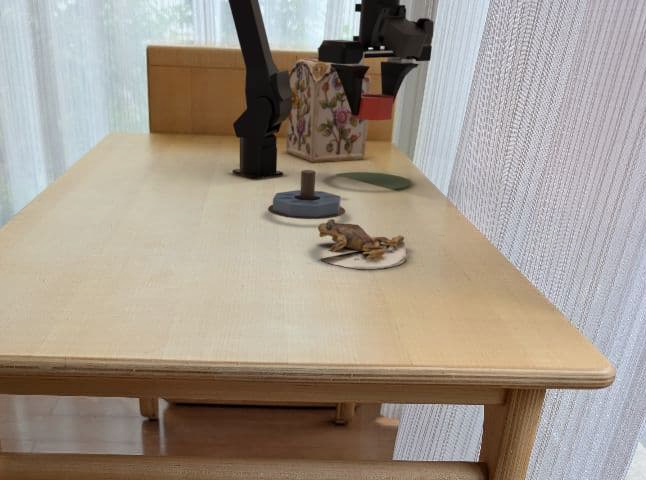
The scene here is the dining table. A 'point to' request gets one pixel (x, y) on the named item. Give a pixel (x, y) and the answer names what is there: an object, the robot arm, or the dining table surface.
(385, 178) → the mat
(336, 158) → the decorative jar
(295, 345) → the dining table surface
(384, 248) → the frog figurine
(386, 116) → the top ring
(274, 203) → the bottom ring
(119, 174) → the dining table surface
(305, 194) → the stacker
